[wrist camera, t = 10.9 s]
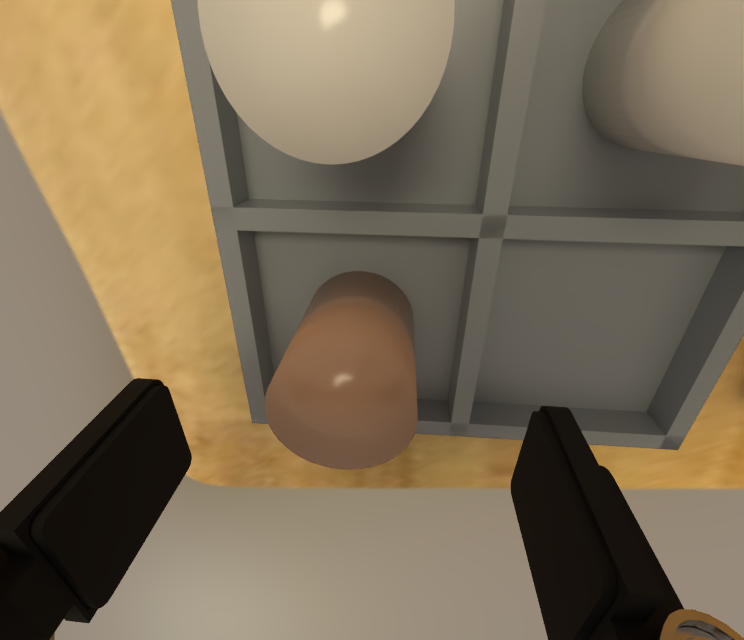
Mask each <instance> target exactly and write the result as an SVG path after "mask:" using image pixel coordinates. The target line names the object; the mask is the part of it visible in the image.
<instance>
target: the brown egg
mask: <svg viewBox="0 0 744 640" xmlns="http://www.w3.org/2000/svg"><path fill="white" fill-rule="evenodd" d="M264 405H265V414H266V418H267V421H268V423H269V426H270V428H271V429H272V431H273V433H274V434H275V435H276V437H277V438H278V439H279V440H280V441H281V442H282V443H283V444H284V445H285V446H286V447H287V448H288V449H290V450H291V451H292V452H294V453H295V454H297V455H298V456H300V457H302V458H304V459H306V460H308V461H310V462H313V463H315V464H319V465H322V466H326V467H330V468H337V469H362V468H368V467H372V466H376V465H379V464H382V463H384V462H386V461H388V460H390V459H392V458H394V457H395V456H397V455H398V454H399V453H401V452H402V451H403V450H404V449H405V448H406V447H407V445H408V444H409V443H410V441H411V440H412V438H413V436H414V434H415V431H416V427H417V422H418V411H417V389H416V367H415V345H414V323H413V312H412V308H411V305H410V302H409V300H408V298H407V297H406V295H405V294H404V292H403V291H402V290H401V289H400V288H399V287H398V286H397V285H396V284H395V283H393V282H392V281H390V280H389V279H387V278H385V277H383V276H381V275H378V274H375V273H371V272H366V271H351V272H345V273H342V274H338V275H336V276H334V277H332V278H330V279H329V280H327V281H326V282H325V283H323V284H322V285H321V286H320V287H319V288H318V290H317V291H316V293H315V294H314V296H313V298H312V300H311V302H310V304H309V306H308V308H307V310H306V312H305V314H304V316H303V318H302V320H301V322H300V324H299V326H298V328H297V330H296V332H295V334H294V336H293V338H292V340H291V342H290V344H289V346H288V348H287V350H286V352H285V354H284V356H283V358H282V360H281V362H280V364H279V366H278V368H277V370H276V372H275V374H274V376H273V378H272V380H271V382H270V384H269V387H268V389H267V392H266V395H265V404H264Z"/></svg>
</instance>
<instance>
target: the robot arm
mask: <svg viewBox="0 0 744 640" xmlns="http://www.w3.org/2000/svg"><path fill="white" fill-rule="evenodd" d="M191 459H192V456H191V452H190V449H189V446H188V443H187V440H186V437H185V435H184V432H183V429H182V426H181V423H180V420H179V417H178V414H177V411H176V409H175V406H174V403H173V400H172V397H171V394H170V391H169V389H168V387H167V386H164V384H163V383H162V382H161V381H160V380H155V379H140V378H137V379H134V380H132V381H131V382H130V383H129V384H128V385H127V386H126V387H125V388H124V389H123V390H122V391H121V392H120V393H119V394H118V395H117V396H116V397H115V398H114V399H113V400H112V401H111V402H110V403H109V404H108V405H107V406H106V407H105V408H104V409H103V410H102V411H101V412H100V413H99V414H98V415H97V416H96V417H95V418H94V419H93V420H92V421H91V422H90V423H89V424H88V425H87V426H86V427H85V428H84V429H83V430H82V431H81V432H80V433H79V434H78V435H77V436H76V437H75V438H74V439H73V440H72V441H71V442H70V443H69V444H68V445H67V446H66V447H65V448H64V449H63V450H62V451H61V452H60V453H59V454H58V455H57V456H56V457H55V458H54V459H53V460H52V461H51V462H50V463H49V464H48V465H47V466H46V467H45V468H44V469H43V470H42V471H41V472H40V473H39V474H38V475H37V476H36V477H35V478H34V479H33V480H32V481H31V482H30V483H29V484H28V485H27V486H26V487H25V488H24V489H23V490H22V491H21V492H20V493H19V494H18V495H17V496H16V497H15V498H14V499H13V500H12V501H11V502H10V503H9V504H8V505H7V506H6V507H5V508H4V509H3V510H2V511H1V512H0V640H54V635H55V634H54V633H55V631H56V629H57V628H58V626H59V625H60V623H61V622H62V620H63V619H65V620H66V621H75V622H83V623H90V621H91V619H92V617H93V616H94V614H95V613H96V611H97V610H98V608H101V607H103V606H104V605H105V604H106V603H107V602H108V601H109V599H110V598H111V596H112V595H113V593H114V591H115V590H116V588H117V586H118V585H119V583H120V581H121V580H122V578H123V576H124V575H125V573H126V571H127V570H128V568H129V566H130V565H131V563H132V561H133V560H134V558H135V557H136V555H137V553H138V551H139V550H140V548H141V547H142V545H143V543H144V542H145V540H146V538H147V536H148V535H149V533H150V532H151V530H152V528H153V527H154V525H155V523H156V522H157V520H158V518H159V517H160V515H161V513H162V512H163V510H164V508H165V507H166V505H167V504H168V502H169V500H170V499H171V497H172V495H173V494H174V492H175V490H176V489H177V487H178V485H179V484H180V482H181V480H182V479H183V477H184V476H185V474H186V472H187V471H188V469H189V467H190V464H191ZM511 495H512V499H513V503H514V507H515V511H516V515H517V519H518V523H519V527H520V531H521V534H522V538H523V542H524V546H525V550H526V554H527V558H528V562H529V566H530V570H531V574H532V578H533V582H534V585H535V589H536V593H537V597H538V601H539V605H540V608H541V613H542V617H543V621H544V624H545V629H546V633H547V636H548V640H744V638H743V637H742V636H740V635H739V634H738V633H737V632H735V631H734V630H733V629H732V628H730V627H729V626H728V625H727V624H725V623H723V622H721V621H719V620H718V619H716V618H714V617H712V616H710V615H709V614H706V613H702V612H699V611H696V610H693V609H692V610H691V609H690V610H689V609H684V608H683V606H682V604H681V602H680V600H679V599H678V597H677V595H676V593H675V591H674V589H673V587H672V585H671V584H670V582H669V580H668V578H667V576H666V574H665V572H664V570H663V569H662V567H661V565H660V563H659V561H658V559H657V558H656V556H655V554H654V552H653V550H652V548H651V546H650V545H649V543H648V541H647V539H646V537H645V535H644V533H643V531H642V530H641V528H640V526H639V524H638V522H637V520H636V518H635V517H634V515H633V513H632V511H631V509H630V507H629V506H628V504H627V502H626V500H625V498H624V496H623V494H622V492H621V491H620V489H619V487H618V485H617V483H616V481H615V479H614V478H613V476H612V475H611V473H610V472H609V470H607V469H606V468H605V467H603V466H599V465H598V463H597V461H596V459H595V457H594V455H593V453H592V451H591V449H590V447H589V445H588V443H587V441H586V439H585V437H584V435H583V434H582V432H581V430H580V428H579V426H578V424H577V422H576V420H575V418H574V416H573V414H572V412H571V411H570V409H569V408H567V407H557V406H541V407H540V409H539V411H533V412H532V414H531V417H530V421H529V424H528V427H527V431H526V434H525V437H524V441H523V444H522V447H521V450H520V454H519V457H518V460H517V464H516V467H515V470H514V473H513V477H512V480H511Z"/></svg>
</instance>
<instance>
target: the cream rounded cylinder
mask: <svg viewBox="0 0 744 640" xmlns="http://www.w3.org/2000/svg"><path fill="white" fill-rule="evenodd" d="M583 100H584V106H585V110H586V113H587V116H588V118H589V120H590V122H591V124H592V126H593V127H594V128H595V130H596V131H597V132H598V133H599V134H600V135H601V136H602V137H603V138H604V139H606V140H608V141H609V142H611V143H613V144H615V145H618V146H620V147H625V148H629V149H636V150H642V151H649V152H655V153H662V154H669V155H675V156H682V157H688V158H695V159H701V160H708V161H715V162H721V163H728V164H734V165H741V166H744V0H623V1H622V2H621V3H620V4H619V5H618V6H617V7H616V9H615V10H614V11H613V12H612V14H611V15H610V16H609V17H608V19H607V20H606V22H605V23H604V25H603V26H602V28H601V29H600V31H599V33H598V35H597V37H596V39H595V41H594V43H593V45H592V48H591V50H590V53H589V56H588V59H587V62H586V66H585V71H584V77H583Z"/></svg>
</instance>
